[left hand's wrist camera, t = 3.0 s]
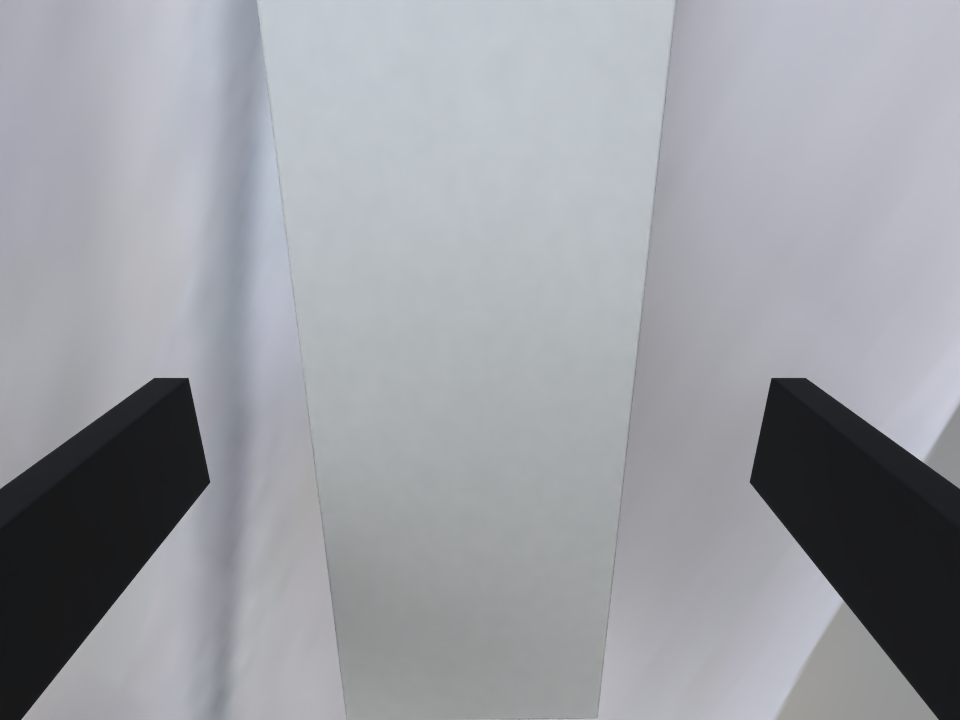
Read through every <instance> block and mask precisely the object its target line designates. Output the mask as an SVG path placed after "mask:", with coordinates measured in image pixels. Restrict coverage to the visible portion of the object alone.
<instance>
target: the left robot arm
mask: <svg viewBox="0 0 960 720" xmlns="http://www.w3.org/2000/svg"><path fill="white" fill-rule="evenodd" d="M209 483H210V479H209V474H208V469H207V464H206V460H205V455H204V450H203V445H202V440H201V436H200V431H199V426H198V421H197V417H196V412H195V407H194V402H193V398H192V393H191V388H190V383H189V379H188V378H154V379H152V380H151V381H150V382H148V383H147V384H145V385H144V386H143V387H141V388H140V389H139V390H137V391H136V392H134V393H133V394H132V395H130V396H129V397H127V398H126V399H125V400H123V401H122V402H120V403H119V404H118V405H116V406H115V407H114V408H112V409H111V410H109V411H108V412H107V413H105V414H104V415H102V416H101V417H100V418H98V419H97V420H95V421H94V422H93V423H91V424H90V425H89V426H87V427H86V428H84V429H83V430H82V431H80V432H79V433H77V434H76V435H75V436H73V437H72V438H70V439H69V440H68V441H66V442H65V443H64V444H62V445H61V446H59V447H58V448H57V449H55V450H54V451H52V452H51V453H50V454H48V455H47V456H45V457H44V458H43V459H41V460H40V461H39V462H37V463H36V464H34V465H33V466H32V467H30V468H29V469H27V470H26V471H25V472H23V473H22V474H20V475H19V476H18V477H16V478H15V479H14V480H12V481H11V482H9V483H8V484H7V485H5V486H4V487H2V488H1V489H0V720H21V719H22V718H23V717H24V715H25V714H26V713H27V712H28V710H29V709H30V708H31V707H32V705H33V704H34V703H35V702H36V700H37V699H38V698H39V697H40V695H41V694H42V693H43V692H44V690H45V689H46V688H47V687H48V685H49V684H50V683H51V682H52V680H53V679H54V678H55V677H56V675H57V674H58V673H59V672H60V670H61V669H62V668H63V666H64V665H65V664H66V663H67V661H68V660H69V659H70V658H71V656H72V655H73V654H74V653H75V651H76V650H77V649H78V648H79V646H80V645H81V644H82V643H83V641H84V640H85V639H86V638H87V636H88V635H89V634H90V633H91V631H92V630H93V629H94V628H95V626H96V625H97V624H98V623H99V621H100V620H101V619H102V618H103V616H104V615H105V614H106V613H107V611H108V610H109V609H110V607H111V606H112V605H113V604H114V602H115V601H116V600H117V599H118V597H119V596H120V595H121V594H122V592H123V591H124V590H125V589H126V587H127V586H128V585H129V584H130V582H131V581H132V580H133V579H134V577H135V576H136V575H137V574H138V572H139V571H140V570H141V569H142V567H143V566H144V565H145V564H146V562H147V561H148V560H149V559H150V557H151V556H152V555H153V554H154V552H155V551H156V550H157V548H158V547H159V546H160V545H161V543H162V542H163V541H164V540H165V538H166V537H167V536H168V535H169V533H170V532H171V531H172V530H173V528H174V527H175V526H176V525H177V523H178V522H179V521H180V520H181V518H182V517H183V516H184V515H185V513H186V512H187V511H188V510H189V508H190V507H191V506H192V505H193V503H194V502H195V501H196V500H197V498H198V497H199V496H200V495H201V493H202V492H203V491H204V489H205V488H206V487H207V486H208V484H209ZM750 483H751V484H752V486H753V487H754V488H755V489H756V491H757V492H758V493H759V495H760V496H761V497H762V498H763V500H764V501H765V502H766V503H767V505H768V506H769V507H770V508H771V510H772V511H773V512H774V513H775V515H776V516H777V517H778V518H779V520H780V521H781V522H782V523H783V525H784V526H785V527H786V528H787V530H788V531H789V532H790V533H791V535H792V536H793V537H794V538H795V540H796V541H797V542H798V543H799V545H800V546H801V547H802V548H803V550H804V551H805V552H806V554H807V555H808V556H809V557H810V559H811V560H812V561H813V562H814V564H815V565H816V566H817V567H818V569H819V570H820V571H821V572H822V574H823V575H824V576H825V577H826V579H827V580H828V581H829V582H830V584H831V585H832V586H833V587H834V589H835V590H836V591H837V592H838V594H839V595H840V596H841V597H842V599H843V600H844V601H845V602H846V604H847V605H848V606H849V607H850V609H851V610H852V611H853V613H854V614H855V615H856V616H857V618H858V619H859V620H860V621H861V623H862V624H863V625H864V626H865V628H866V629H867V630H868V631H869V633H870V634H871V635H872V636H873V638H874V639H875V640H876V641H877V643H878V644H879V645H880V646H881V648H882V649H883V650H884V651H885V653H886V654H887V655H888V656H889V658H890V659H891V660H892V661H893V663H894V664H895V665H896V666H897V668H898V669H899V670H900V671H901V673H902V674H903V675H904V677H905V678H906V679H907V680H908V682H909V683H910V684H911V685H912V687H913V688H914V689H915V690H916V692H917V693H918V694H919V695H920V697H921V698H922V699H923V700H924V702H925V703H926V704H927V705H928V707H929V708H930V709H931V710H932V712H933V713H934V714H935V715H936V717H937V718H938V719H939V720H960V489H959V488H958V487H956V486H955V485H953V484H952V483H951V482H949V481H948V480H946V479H945V478H944V477H942V476H941V475H940V474H938V473H937V472H935V471H934V470H933V469H931V468H930V467H928V466H927V465H926V464H924V463H923V462H921V461H920V460H919V459H917V458H916V457H915V456H913V455H912V454H910V453H909V452H908V451H906V450H905V449H903V448H902V447H901V446H899V445H898V444H896V443H895V442H894V441H892V440H891V439H890V438H888V437H887V436H885V435H884V434H883V433H881V432H880V431H878V430H877V429H876V428H874V427H873V426H871V425H870V424H869V423H867V422H866V421H865V420H863V419H862V418H860V417H859V416H858V415H856V414H855V413H853V412H852V411H851V410H849V409H848V408H846V407H845V406H844V405H842V404H841V403H840V402H838V401H837V400H835V399H834V398H833V397H831V396H830V395H828V394H827V393H826V392H824V391H823V390H821V389H820V388H819V387H817V386H816V385H815V384H813V383H812V382H810V381H809V380H808V379H806V378H772V379H771V383H770V388H769V393H768V398H767V402H766V407H765V412H764V417H763V421H762V426H761V431H760V436H759V440H758V445H757V450H756V455H755V460H754V464H753V469H752V474H751V479H750Z"/></svg>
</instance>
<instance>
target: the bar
mask: <svg viewBox="0 0 960 720" xmlns="http://www.w3.org/2000/svg"><path fill="white" fill-rule="evenodd" d="M257 7H258V15H259V23H260V31H261V39H262V47H263V55H264V63H265V71H266V79H267V87H268V95H269V103H270V111H271V119H272V127H273V135H274V143H275V151H276V159H277V167H278V175H279V183H280V191H281V199H282V207H283V215H284V223H285V231H286V239H287V247H288V255H289V263H290V271H291V279H292V287H293V295H294V303H295V311H296V319H297V327H298V335H299V343H300V351H301V359H302V367H303V375H304V383H305V391H306V399H307V407H308V415H309V423H310V431H311V439H312V447H313V455H314V463H315V471H316V479H317V487H318V495H319V503H320V511H321V519H322V527H323V535H324V543H325V551H326V559H327V567H328V575H329V583H330V591H331V599H332V607H333V615H334V623H335V631H336V639H337V647H338V655H339V663H340V671H341V679H342V687H343V695H344V703H345V711H346V718H347V720H504V719H588V718H597V717H598V709H599V700H600V691H601V682H602V673H603V663H604V654H605V645H606V636H607V627H608V618H609V609H610V600H611V591H612V582H613V573H614V563H615V554H616V545H617V536H618V527H619V518H620V509H621V500H622V491H623V482H624V472H625V463H626V454H627V445H628V436H629V427H630V418H631V409H632V400H633V391H634V381H635V372H636V363H637V354H638V345H639V336H640V327H641V318H642V309H643V300H644V290H645V281H646V272H647V263H648V254H649V245H650V236H651V227H652V218H653V209H654V199H655V190H656V181H657V172H658V163H659V154H660V145H661V136H662V127H663V118H664V108H665V99H666V90H667V81H668V72H669V63H670V54H671V45H672V36H673V27H674V17H675V8H676V0H257Z"/></svg>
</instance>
